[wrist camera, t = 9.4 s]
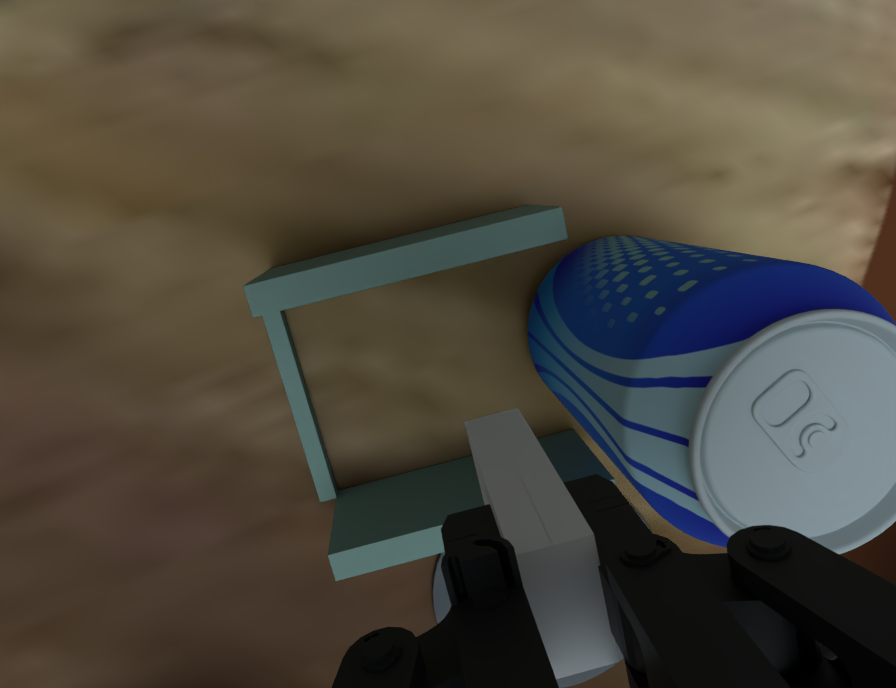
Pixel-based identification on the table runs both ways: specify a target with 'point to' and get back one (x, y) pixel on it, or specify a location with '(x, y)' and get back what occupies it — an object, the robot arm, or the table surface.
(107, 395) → the table surface
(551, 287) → the beer can
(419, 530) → the rack
